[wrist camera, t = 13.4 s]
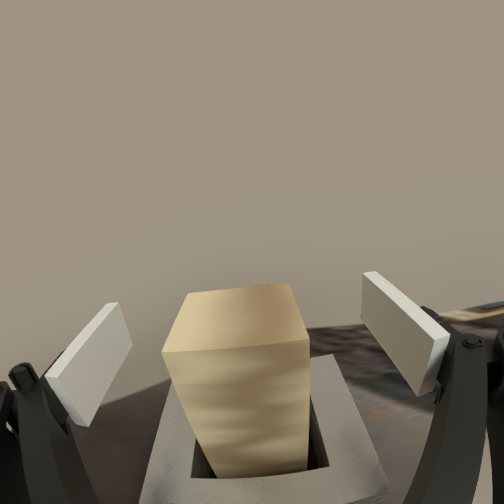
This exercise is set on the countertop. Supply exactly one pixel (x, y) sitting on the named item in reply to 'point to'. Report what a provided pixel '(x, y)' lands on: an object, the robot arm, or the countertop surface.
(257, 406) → the upright pine post
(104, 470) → the countertop surface
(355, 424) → the grey square frame block
